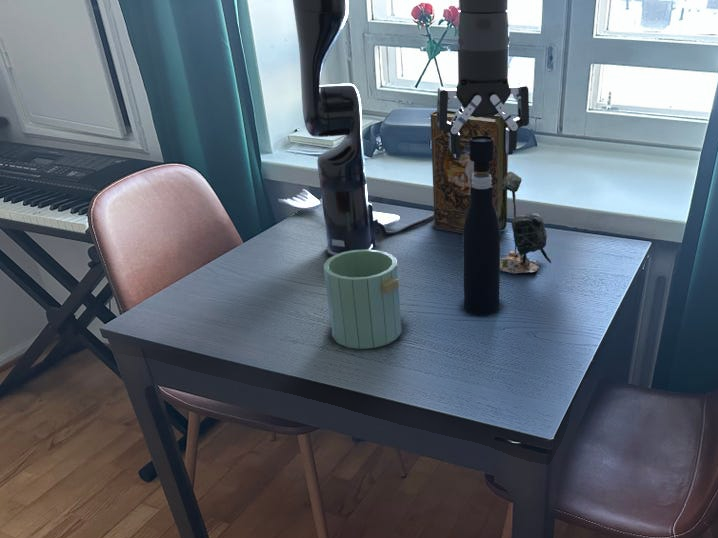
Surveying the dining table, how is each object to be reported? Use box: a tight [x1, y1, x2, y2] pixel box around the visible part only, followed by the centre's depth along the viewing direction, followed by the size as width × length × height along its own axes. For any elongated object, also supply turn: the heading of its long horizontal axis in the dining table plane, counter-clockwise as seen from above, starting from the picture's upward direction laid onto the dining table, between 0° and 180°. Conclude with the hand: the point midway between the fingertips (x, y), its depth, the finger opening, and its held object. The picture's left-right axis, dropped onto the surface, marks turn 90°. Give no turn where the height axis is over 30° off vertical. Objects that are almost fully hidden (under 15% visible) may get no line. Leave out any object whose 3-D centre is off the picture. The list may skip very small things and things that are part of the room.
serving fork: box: [277, 188, 400, 229], centre depth 164 cm, size 9×32×3 cm, turn 59°
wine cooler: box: [323, 249, 402, 350], centre depth 116 cm, size 12×14×12 cm
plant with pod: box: [500, 171, 552, 275], centre depth 135 cm, size 8×11×20 cm
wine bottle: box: [462, 136, 501, 316], centre depth 118 cm, size 6×6×30 cm
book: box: [429, 109, 509, 234], centre depth 152 cm, size 16×6×25 cm, turn 65°
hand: (483, 154), depth 112 cm, fingers open, 8 cm apart
